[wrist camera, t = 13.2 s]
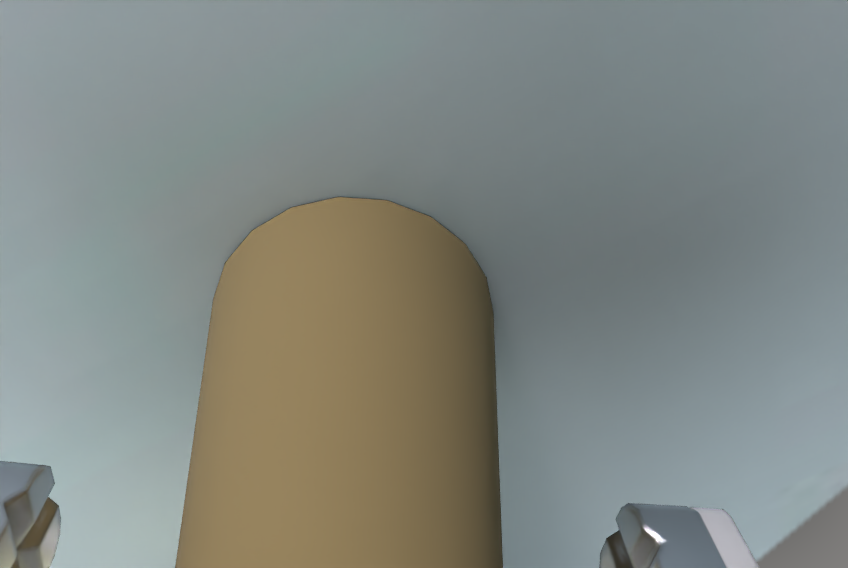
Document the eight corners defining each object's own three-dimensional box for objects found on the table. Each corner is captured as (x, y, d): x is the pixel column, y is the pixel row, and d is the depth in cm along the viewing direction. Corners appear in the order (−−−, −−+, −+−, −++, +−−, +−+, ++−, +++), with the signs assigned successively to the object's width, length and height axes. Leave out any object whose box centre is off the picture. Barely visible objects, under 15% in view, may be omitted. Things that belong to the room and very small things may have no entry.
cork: (180, 208, 13) (-365, 1125, 3) (493, 185, 13) (804, 1005, 3) (243, 437, 16) (51, 1238, 7) (493, 416, 16) (657, 1171, 7)
